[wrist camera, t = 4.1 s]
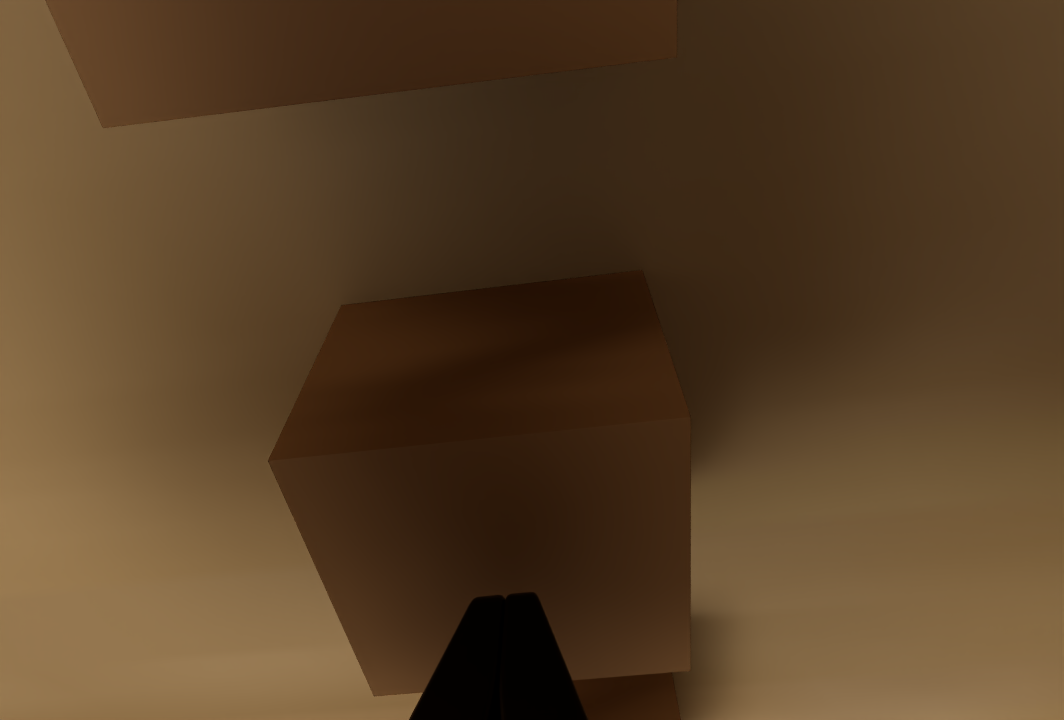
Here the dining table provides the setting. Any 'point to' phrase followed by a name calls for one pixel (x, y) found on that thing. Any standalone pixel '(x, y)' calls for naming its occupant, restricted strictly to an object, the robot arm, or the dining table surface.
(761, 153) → the dining table surface
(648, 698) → the one dot block
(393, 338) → the plain block
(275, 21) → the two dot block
